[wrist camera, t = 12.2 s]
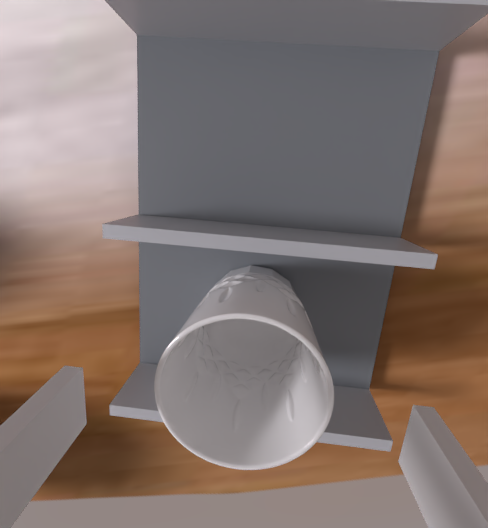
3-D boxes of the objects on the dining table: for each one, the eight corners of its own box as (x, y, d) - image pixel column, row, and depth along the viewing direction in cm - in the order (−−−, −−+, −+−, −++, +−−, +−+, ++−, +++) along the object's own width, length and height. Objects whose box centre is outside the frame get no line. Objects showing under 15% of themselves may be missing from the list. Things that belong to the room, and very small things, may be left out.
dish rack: (144, 28, 21) (92, -34, 15) (432, 43, 19) (503, -17, 13) (145, 363, 27) (109, 415, 21) (362, 388, 26) (390, 451, 20)
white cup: (195, 346, 25) (147, 452, 15) (208, 248, 23) (162, 298, 13) (296, 365, 24) (312, 485, 15) (318, 267, 22) (354, 333, 13)
